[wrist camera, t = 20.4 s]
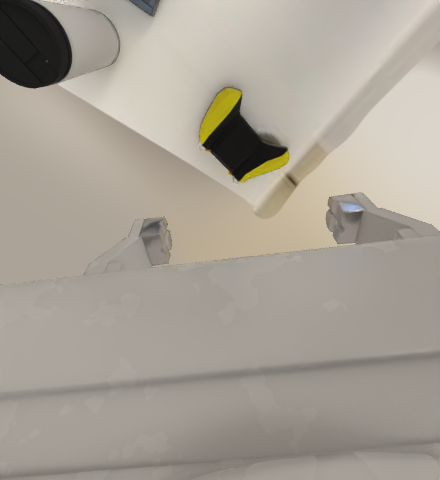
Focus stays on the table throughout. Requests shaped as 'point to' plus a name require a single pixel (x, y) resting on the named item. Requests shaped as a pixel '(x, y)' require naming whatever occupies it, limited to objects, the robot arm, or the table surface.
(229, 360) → the robot arm
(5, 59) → the travel mug
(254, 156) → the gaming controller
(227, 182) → the table surface
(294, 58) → the table surface
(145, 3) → the tray
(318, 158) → the table surface
